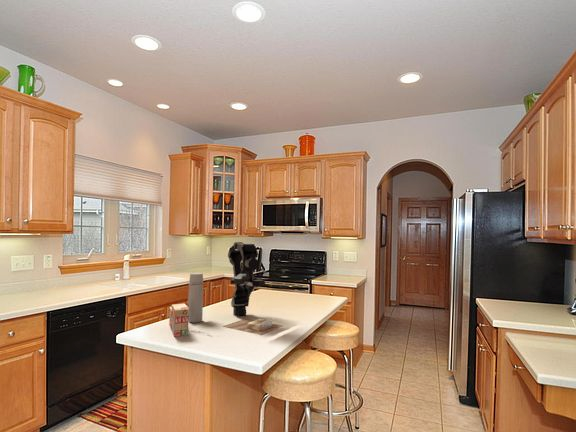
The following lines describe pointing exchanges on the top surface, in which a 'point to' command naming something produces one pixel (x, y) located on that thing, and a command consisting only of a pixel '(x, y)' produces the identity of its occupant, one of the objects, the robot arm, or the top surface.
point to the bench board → (242, 326)
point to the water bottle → (195, 297)
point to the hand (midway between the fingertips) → (247, 298)
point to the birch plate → (255, 324)
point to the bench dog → (266, 325)
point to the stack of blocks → (179, 319)
